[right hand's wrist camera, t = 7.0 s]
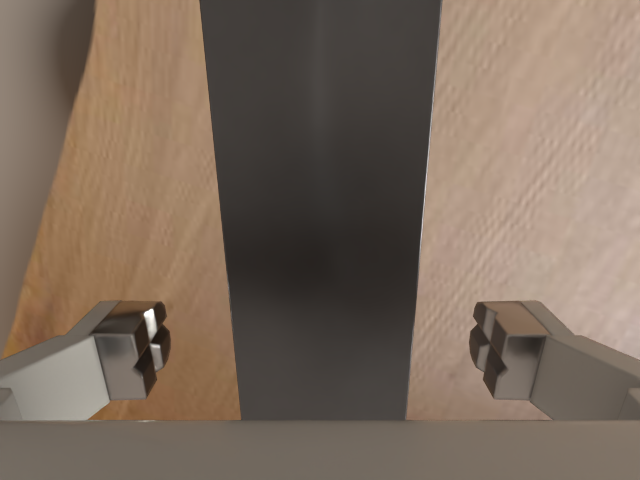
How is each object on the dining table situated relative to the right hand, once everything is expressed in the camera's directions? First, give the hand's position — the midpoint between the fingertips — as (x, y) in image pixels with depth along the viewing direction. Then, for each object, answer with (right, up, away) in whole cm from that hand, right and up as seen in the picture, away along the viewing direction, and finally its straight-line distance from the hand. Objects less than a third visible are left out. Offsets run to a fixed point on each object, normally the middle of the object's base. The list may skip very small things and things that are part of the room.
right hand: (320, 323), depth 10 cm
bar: (0, +10, +6) cm, 12 cm away
